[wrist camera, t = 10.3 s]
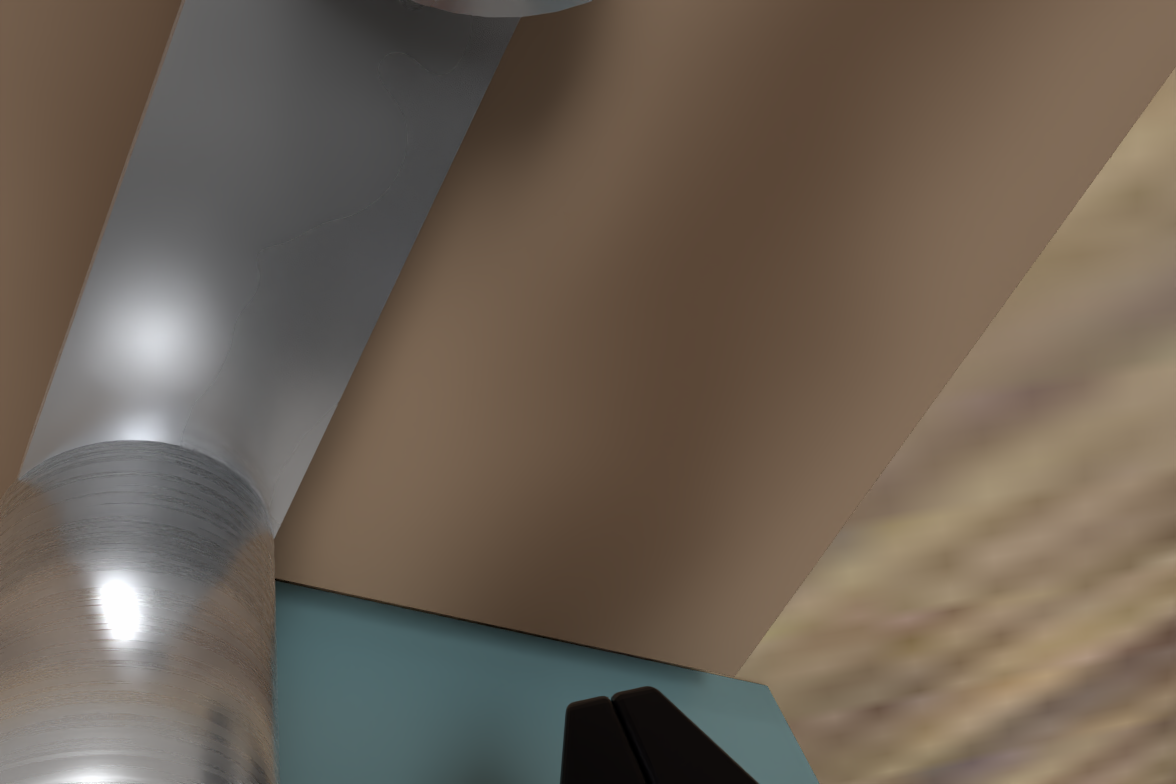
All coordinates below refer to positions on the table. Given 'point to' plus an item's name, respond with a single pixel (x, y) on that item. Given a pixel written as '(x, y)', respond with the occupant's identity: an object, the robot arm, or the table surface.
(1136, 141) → the table surface
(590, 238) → the crank base
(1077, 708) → the table surface
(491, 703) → the tray
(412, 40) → the crank
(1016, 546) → the table surface
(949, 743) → the table surface
